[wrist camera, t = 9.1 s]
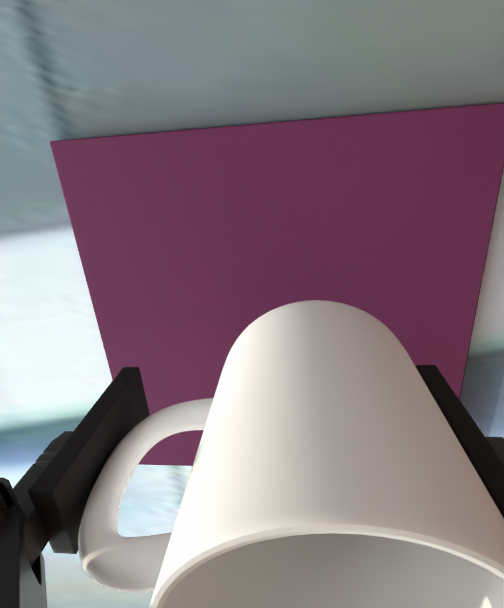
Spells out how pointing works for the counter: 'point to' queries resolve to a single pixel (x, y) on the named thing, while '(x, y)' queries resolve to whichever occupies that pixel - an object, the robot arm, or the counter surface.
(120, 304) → the mat
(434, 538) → the cup
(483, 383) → the counter surface
